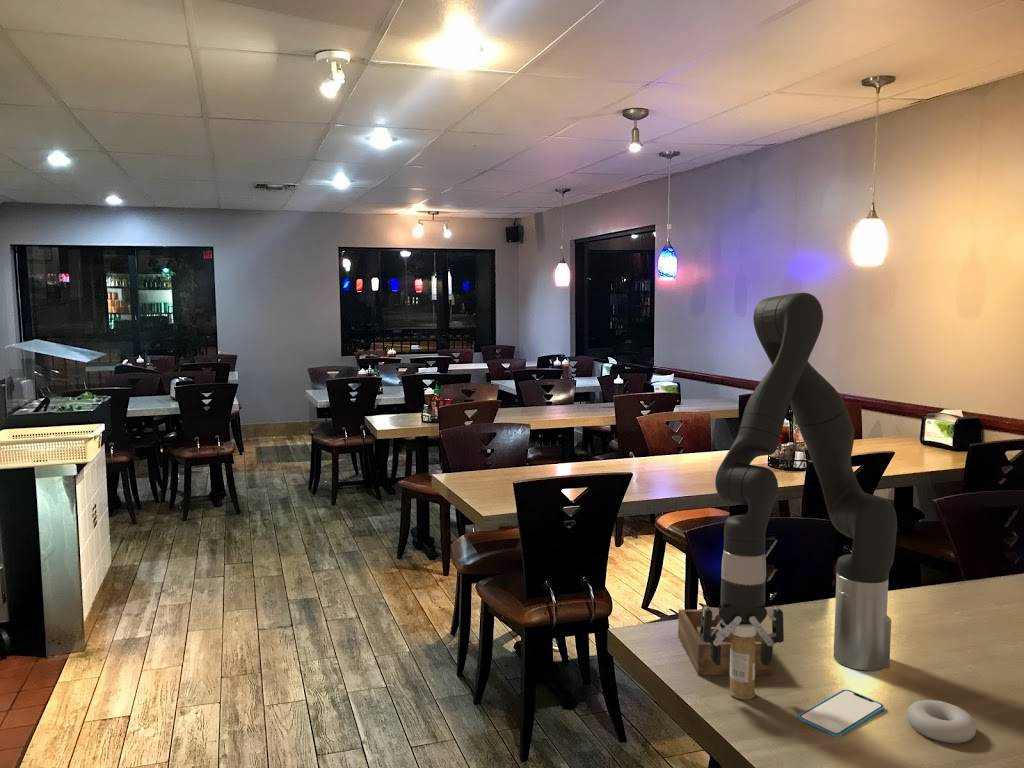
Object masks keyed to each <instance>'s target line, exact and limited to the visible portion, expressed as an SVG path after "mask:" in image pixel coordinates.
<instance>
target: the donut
mask: <svg viewBox="0 0 1024 768" xmlns="http://www.w3.org/2000/svg"><path fill="white" fill-rule="evenodd" d="M906 718H907V721H908V723H909V725H910V726H911V727H912V729H914V730H915V731H916V732H917V731H918V732H917V733H919V734H920V733H921V734H920V735H922V736H924V735H925V736H924V737H926V736H927V737H926V738H928V737H929V739H930V738H932V739H931V740H933V739H935V740H934V741H937V740H939V741H938V742H940V741H942V742H941V743H946V742H947V744H963V743H966V742H969V741H970V740H972V739H973V738H974V737H975V735H976V731H977V725H976V722H975V720H974V718H973V717H972V716H971V715H970V714H969V713H968V712H967V711H965V710H964V709H962V708H961V707H959V706H958V705H957V706H956V705H954V704H951V703H950V702H949V703H948V702H945V701H940V700H935V699H934V700H933V699H922V700H917V701H915V702H913V703H911V704H910V705H909V707H908V709H907V711H906ZM962 742H963V743H962Z"/></svg>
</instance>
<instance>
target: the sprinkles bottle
mask: <svg viewBox="0 0 1024 768" xmlns="http://www.w3.org/2000/svg"><path fill="white" fill-rule="evenodd" d="M730 634H731V646H730V675H729V690H728V692H729V694H730V696H731V697H733V698H736V699H738V700H741V701H742V700H745V701H746V700H751V699H753V698H754V697H756V696H755V695H756V692H755V691H756V690H755V689H756V688H755V687H756V686H755V683H756V682H755V680H756V675H755V637H756V634H757V631H756V629H755V626H753V625H752V624H743V625H740V624H738V626H736V627H735V628H734V629H733V631H732V632H731V633H730Z"/></svg>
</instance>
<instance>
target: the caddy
mask: <svg viewBox="0 0 1024 768" xmlns="http://www.w3.org/2000/svg"><path fill="white" fill-rule="evenodd" d="M701 615H702V609H678V622H677V623H678V625H677V627H678V628H677V629H678V630H677V636H678V637H679V638H678V637H677V638H678V639H680V640H679V642H680V641H681V642H680V643H682V644H681V646H682V647H683V649H684V651H685V653H686V655H687V657H688V659H689V661H690V663H691V665H692V666H693V668H694V670H695V672H696V674H697V676H727V675H728V676H730V646H731V634H729V636H728V637H726V638H724V640H723V641H722V642H721V643H720V646H721V664H720V666H716V665H715V663H714V662H713V661H712V659H711V657H710V646H711V643H708V642H707V643H706V642H704V641H703V639H702V637H701V636H700V627H701ZM721 620H722V618H721V617H720V616H719V615H717V616H716V617H715V619H714V620H712V622H711V633H710V634H712V633H713V631H714V630H715V629H716V626H717V624H718V623H719V622H720V621H721ZM761 641H763V639H762V637H761V636H760V635H759V633H758V632H757V634H756V637H755V676H756V675H758V676H759V675H766V676H767V675H773V660H772V661H771V662H769V665H768V666H764V665H763V664H762V662H761ZM773 648H774V645H773V646H772V654H774V653H773V650H774V649H773Z"/></svg>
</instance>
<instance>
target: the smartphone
mask: <svg viewBox="0 0 1024 768" xmlns="http://www.w3.org/2000/svg"><path fill="white" fill-rule="evenodd" d="M884 709H885V706H884V704H883V703H881V702H879V701H876V700H874V699H872V698H870V697H867V696H864V695H863V694H860V693H858V692H856V691H853V690H851V689H846V688H845V689H842V690H840V691H838V692H836V693H834V694H832V695H831V696H829V697H827V698H825V699H824V700H822V701H820V702H818V703H817V704H815V705H814V706H812V707H809V708H808V709H806V710H804V711H803V712H801V713H800V714H798V719H799V721H800V722H803V723H805V724H807V725H808V726H812V727H813V728H817V729H818V730H820V731H822V732H824V733H825V734H828V735H830V736H833V737H836V738H838V737H842V736H843V735H845V734H847V733H849V732H851V731H852V730H854V729H857V727H859V726H860V725H862V724H864V723H866V722H867V721H869V720H871V719H872V718H874V717H876V716H877V715H880V714H881V713H883V712H884Z"/></svg>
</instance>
